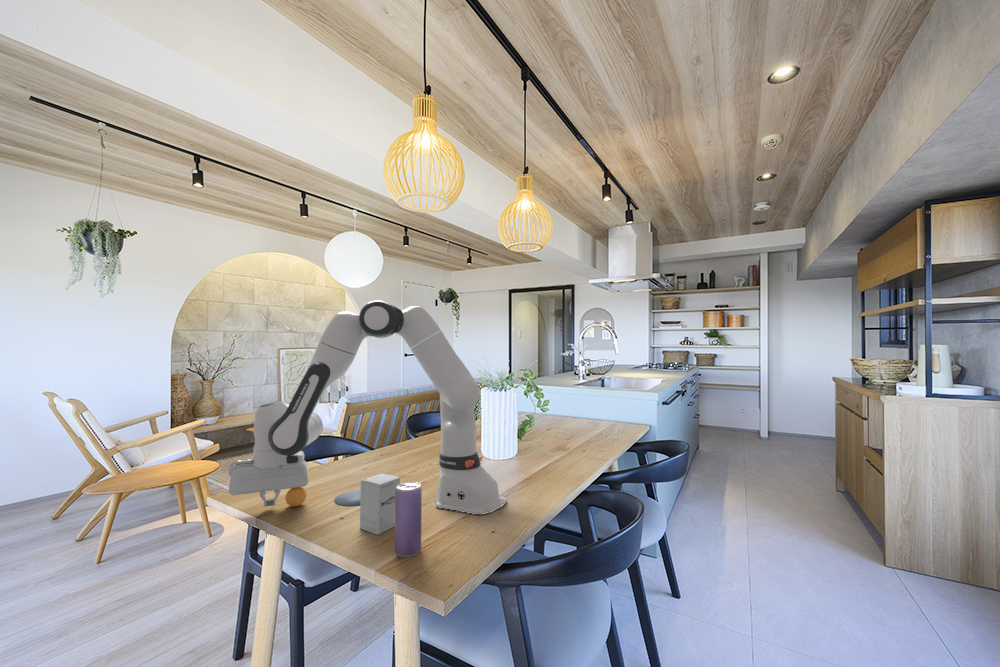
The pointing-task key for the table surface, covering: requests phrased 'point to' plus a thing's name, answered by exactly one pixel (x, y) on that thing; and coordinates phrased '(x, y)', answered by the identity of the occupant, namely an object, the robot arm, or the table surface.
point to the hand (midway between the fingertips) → (270, 505)
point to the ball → (295, 496)
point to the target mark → (349, 498)
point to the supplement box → (378, 503)
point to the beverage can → (408, 519)
